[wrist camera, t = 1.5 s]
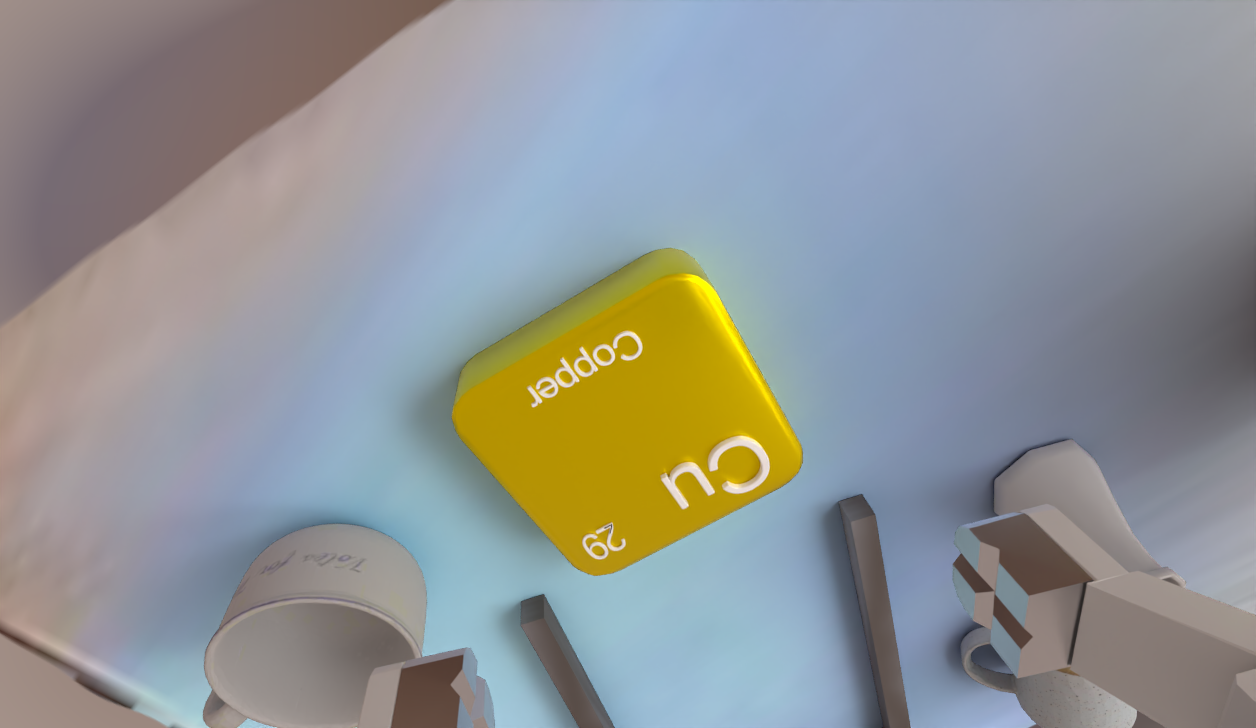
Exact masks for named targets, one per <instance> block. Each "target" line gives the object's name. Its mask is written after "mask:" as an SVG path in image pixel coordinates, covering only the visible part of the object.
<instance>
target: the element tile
mask: <svg viewBox="0 0 1256 728" xmlns="http://www.w3.org/2000/svg"><path fill="white" fill-rule="evenodd" d="M451 417H452V421H453V424H454V428H455V431H456V432H457V434H458V436H459V437H460V439H461V440H462V441H463V442H464V443H465V445H466V446H467V447H468V448H469V449H470V450H471V451H472V452H473V454H474V455H475V456H476V457H477V458H478V459H479V460H480V461H481V463H482V464H483V465H484V466H485V467H486V468H487V469H488V470H489V472H490V473H491V474H492V475H493V476H494V477H495V478H496V480H497V481H498V482H499V483H500V484H501V485H502V486H503V487H504V489H505V490H506V491H507V492H508V493H509V494H510V495H511V496H512V498H513V499H514V500H515V501H516V502H517V503H518V504H519V506H520V507H521V508H522V509H523V510H524V511H525V512H526V513H527V515H528V516H529V517H530V518H531V519H532V520H533V521H534V522H535V524H536V525H537V526H538V527H539V528H540V529H541V530H542V531H543V533H544V534H545V535H546V536H547V537H548V538H549V539H550V541H551V542H552V543H553V544H554V545H555V546H556V547H557V548H558V550H559V551H560V552H561V553H562V554H563V555H564V556H565V557H566V559H567V560H568V561H569V562H570V563H571V564H572V565H573V566H574V567H575V568H577V569H578V570H580V571H582V572H585V573H587V574H590V575H593V576H600V575H606V574H611V573H614V572H617V571H620V570H622V569H624V568H626V567H628V566H630V565H632V564H634V563H636V562H638V561H640V560H642V559H643V558H645V557H647V556H649V555H651V554H653V553H655V552H657V551H659V550H661V549H663V548H665V547H667V546H669V545H671V544H672V543H674V542H676V541H678V540H680V539H682V538H684V537H686V536H688V535H690V534H692V533H694V532H696V531H698V530H700V529H702V528H703V527H705V526H707V525H709V524H711V523H713V522H715V521H717V520H719V519H721V518H723V517H725V516H727V515H729V514H731V513H732V512H734V511H736V510H738V509H740V508H742V507H744V506H746V505H748V504H750V503H752V502H754V501H756V500H758V499H760V498H762V497H763V496H765V495H767V494H769V493H771V492H773V491H775V490H777V489H779V488H781V487H782V486H784V485H785V484H787V483H788V482H790V481H791V480H792V479H793V477H794V476H795V475H796V474H797V473H798V472H799V470H800V468H801V465H802V463H803V451H802V446H801V443H800V442H799V440H798V438H797V436H796V434H795V433H794V431H793V429H792V427H791V425H790V424H789V422H788V420H787V418H786V416H785V415H784V413H783V411H782V409H781V407H780V406H779V404H778V402H777V400H776V398H775V396H774V395H773V393H772V391H771V389H770V387H769V386H768V384H767V382H766V380H765V378H764V377H763V375H762V373H761V371H760V369H759V368H758V366H757V364H756V362H755V360H754V359H753V357H752V355H751V353H750V351H749V350H748V348H747V346H746V344H745V342H744V341H743V339H742V337H741V335H740V333H739V332H738V330H737V328H736V326H735V324H734V323H733V321H732V319H731V317H730V315H729V314H728V312H727V310H726V308H725V306H724V305H723V303H722V301H721V299H720V297H719V295H718V294H717V292H716V290H715V289H714V287H713V285H712V284H711V282H710V281H709V279H708V277H707V276H706V274H705V273H704V271H703V269H702V268H701V266H700V265H699V264H698V263H697V261H696V260H695V259H694V258H693V257H691V256H690V255H688V254H687V253H686V252H684V251H682V250H678V249H673V248H666V249H659V250H655V251H653V252H650V253H648V254H645V255H643V256H642V257H640V258H638V259H637V260H635V261H633V262H632V263H630V264H628V265H627V266H625V267H623V268H621V269H620V270H618V271H616V272H615V273H613V274H611V275H610V276H608V277H606V278H605V279H603V280H601V281H600V282H598V283H596V284H594V285H593V286H591V287H589V288H588V289H586V290H584V291H583V292H581V293H579V294H578V295H576V296H574V297H573V298H571V299H569V300H567V301H566V302H564V303H562V304H561V305H559V306H557V307H556V308H554V309H552V310H551V311H549V312H547V313H546V314H544V315H542V316H540V317H539V318H537V319H535V320H534V321H532V322H530V323H529V324H527V325H525V326H524V327H522V328H520V329H519V330H517V331H515V332H513V333H512V334H510V335H508V336H507V337H505V338H503V339H502V340H500V341H498V342H497V343H495V344H493V345H491V346H490V347H488V348H486V349H485V350H483V351H481V352H480V353H478V354H476V355H475V356H474V357H473V358H471V359H470V360H469V361H468V362H467V364H466V365H465V366H464V368H463V369H462V371H461V373H460V377H459V382H458V386H457V391H456V396H455V400H454V405H453V411H452V416H451Z"/></svg>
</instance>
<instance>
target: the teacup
mask: <svg viewBox="0 0 1256 728" xmlns="http://www.w3.org/2000/svg"><path fill="white" fill-rule="evenodd" d="M426 607H427V592H426V586H425V580H424V577H423V574H422V571H421V569H420V567H419V565H418V563H417V561H416V560H415V559H414V557H413V556H412V555H411V553H410V552H409V551H408V550H407V549H406V548H405V547H403V546H402V545H401V544H400V543H399V542H397V541H396V540H394V539H393V538H391V537H389V536H387V535H385V534H383V533H381V532H378V531H376V530H373V529H370V528H367V527H362V526H357V525H350V524H323V525H317V526H312V527H307V528H303V529H300V530H297V531H295V532H292V533H290V534H288V535H286V536H284V537H282V538H280V539H278V540H277V541H275V542H274V543H272V544H271V545H270V546H269V547H267V548H266V549H265V550H264V551H263V552H262V553H261V554H260V555H259V556H258V557H257V558H256V559H255V561H254V562H253V563H252V564H251V566H250V567H249V569H248V570H247V572H246V573H245V575H244V577H243V579H242V581H241V582H240V584H239V586H238V588H237V590H236V592H235V594H234V596H233V598H232V600H231V603H230V605H229V607H228V609H227V611H226V613H225V616H224V618H223V620H222V623H221V625H220V627H219V629H218V630H217V632H216V633H215V634H214V636H213V637H212V639H211V641H210V643H209V644H208V646H207V649H206V652H205V661H204V670H205V675H206V678H207V680H208V683H209V685H210V686H211V688H212V689H213V690H212V692H211V694H210V696H209V697H208V699H207V701H206V704H205V707H204V710H203V720H204V722H205V723H206V725H207V726H209V727H210V728H237V727H238V726H240V725H241V724H242V723H243V722H244V721H245V720H246V719H247V718H249V719H252V720H254V721H256V722H259V723H262V724H265V725H269V726H273V727H277V728H355V727H358V722H359V718H360V714H361V709H362V705H363V701H364V697H365V692H366V688H367V684H368V679H369V677H370V676H371V674H372V672H373V671H374V669H375V668H378V667H382V666H387V665H391V664H396V663H400V662H404V661H407V660H412V659H416V658H421V657H422V647H423V640H424V630H425V620H426Z"/></svg>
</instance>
